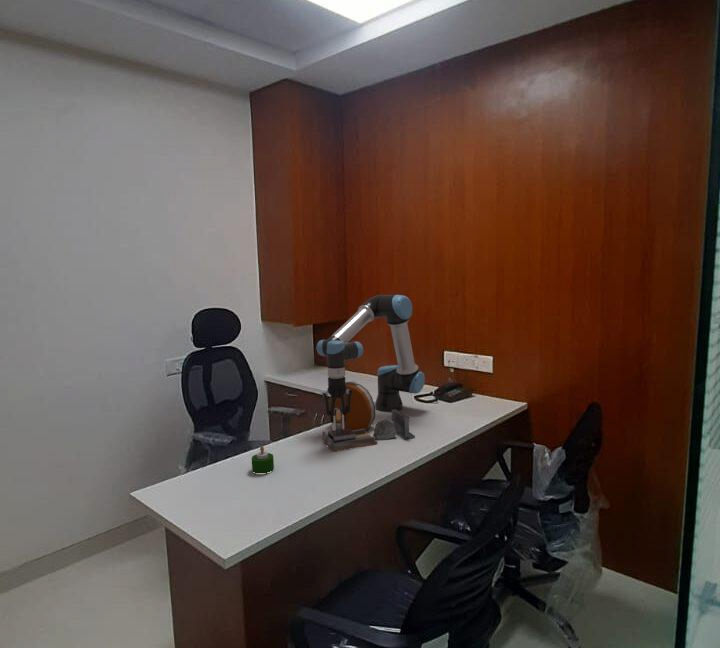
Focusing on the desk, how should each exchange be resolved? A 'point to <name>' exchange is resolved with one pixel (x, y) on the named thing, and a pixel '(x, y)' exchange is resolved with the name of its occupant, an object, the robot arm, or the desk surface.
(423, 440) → the desk surface
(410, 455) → the desk surface
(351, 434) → the ram
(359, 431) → the brown shallow box
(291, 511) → the desk surface
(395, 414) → the angle bracket
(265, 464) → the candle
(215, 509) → the desk surface
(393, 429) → the stone
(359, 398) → the alarm clock
